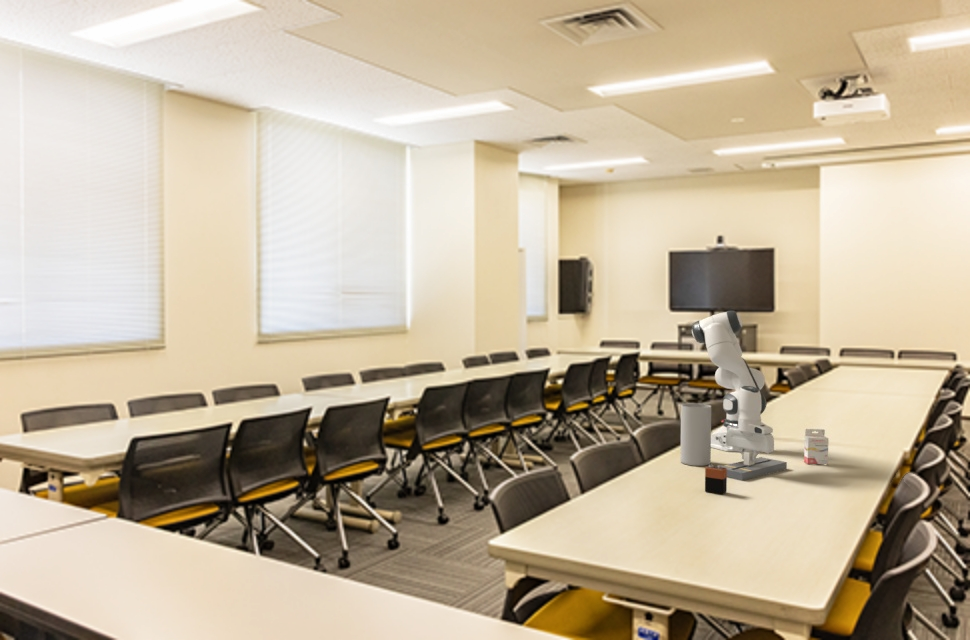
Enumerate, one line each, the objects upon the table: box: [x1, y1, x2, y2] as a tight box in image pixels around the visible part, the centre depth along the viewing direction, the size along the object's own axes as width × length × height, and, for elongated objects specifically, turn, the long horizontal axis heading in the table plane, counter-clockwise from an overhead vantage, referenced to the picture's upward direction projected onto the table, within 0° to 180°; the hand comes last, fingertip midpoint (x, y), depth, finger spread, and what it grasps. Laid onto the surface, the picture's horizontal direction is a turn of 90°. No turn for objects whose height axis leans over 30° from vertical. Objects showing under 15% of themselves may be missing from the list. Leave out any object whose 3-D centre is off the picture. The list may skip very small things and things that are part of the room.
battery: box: [704, 464, 728, 495], centre depth 271 cm, size 4×7×10 cm, turn 54°
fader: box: [743, 451, 754, 467], centre depth 302 cm, size 2×4×7 cm, turn 128°
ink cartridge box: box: [803, 428, 829, 465], centre depth 319 cm, size 9×5×15 cm, turn 84°
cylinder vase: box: [680, 402, 712, 467], centre depth 319 cm, size 12×12×25 cm
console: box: [722, 456, 788, 482], centre depth 303 cm, size 12×32×3 cm, turn 128°
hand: (748, 460), depth 302 cm, fingers closed on fader, 2 cm apart
